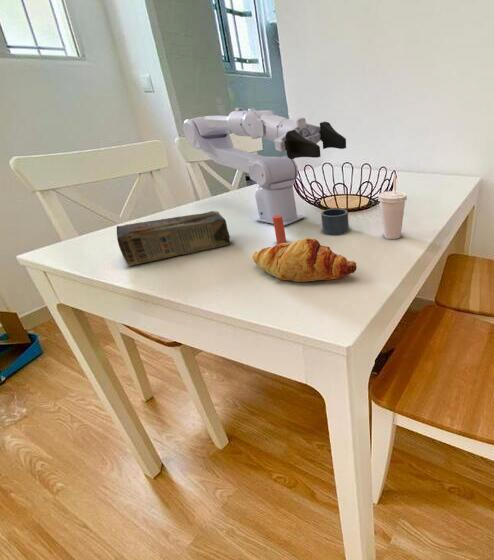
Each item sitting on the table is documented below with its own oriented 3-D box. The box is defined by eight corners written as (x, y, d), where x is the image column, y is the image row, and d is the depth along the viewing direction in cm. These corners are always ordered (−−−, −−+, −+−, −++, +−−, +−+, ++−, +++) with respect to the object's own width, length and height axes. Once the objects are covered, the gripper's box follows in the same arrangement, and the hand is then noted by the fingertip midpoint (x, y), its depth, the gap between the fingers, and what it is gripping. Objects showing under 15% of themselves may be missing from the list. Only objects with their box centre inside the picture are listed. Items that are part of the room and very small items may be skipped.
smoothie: (403, 242, 76) (404, 178, 70) (375, 240, 77) (373, 176, 71) (408, 232, 82) (409, 172, 75) (382, 230, 83) (381, 170, 76)
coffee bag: (233, 245, 75) (226, 216, 72) (127, 269, 65) (113, 236, 61) (224, 234, 80) (217, 207, 77) (125, 255, 70) (112, 224, 67)
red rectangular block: (275, 243, 76) (270, 217, 73) (281, 240, 77) (277, 214, 74) (281, 244, 75) (277, 218, 72) (288, 241, 76) (284, 215, 74)
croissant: (249, 287, 65) (226, 262, 59) (271, 247, 70) (252, 219, 64) (353, 301, 60) (340, 275, 53) (368, 256, 65) (359, 227, 59)
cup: (317, 232, 82) (315, 214, 80) (333, 224, 87) (331, 207, 84) (338, 236, 79) (337, 217, 77) (353, 228, 84) (352, 210, 82)
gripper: (257, 119, 69) (304, 134, 63) (310, 108, 79) (355, 120, 73) (263, 154, 74) (307, 171, 68) (312, 140, 83) (355, 154, 77)
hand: (332, 147), depth 71 cm, fingers open, 7 cm apart
